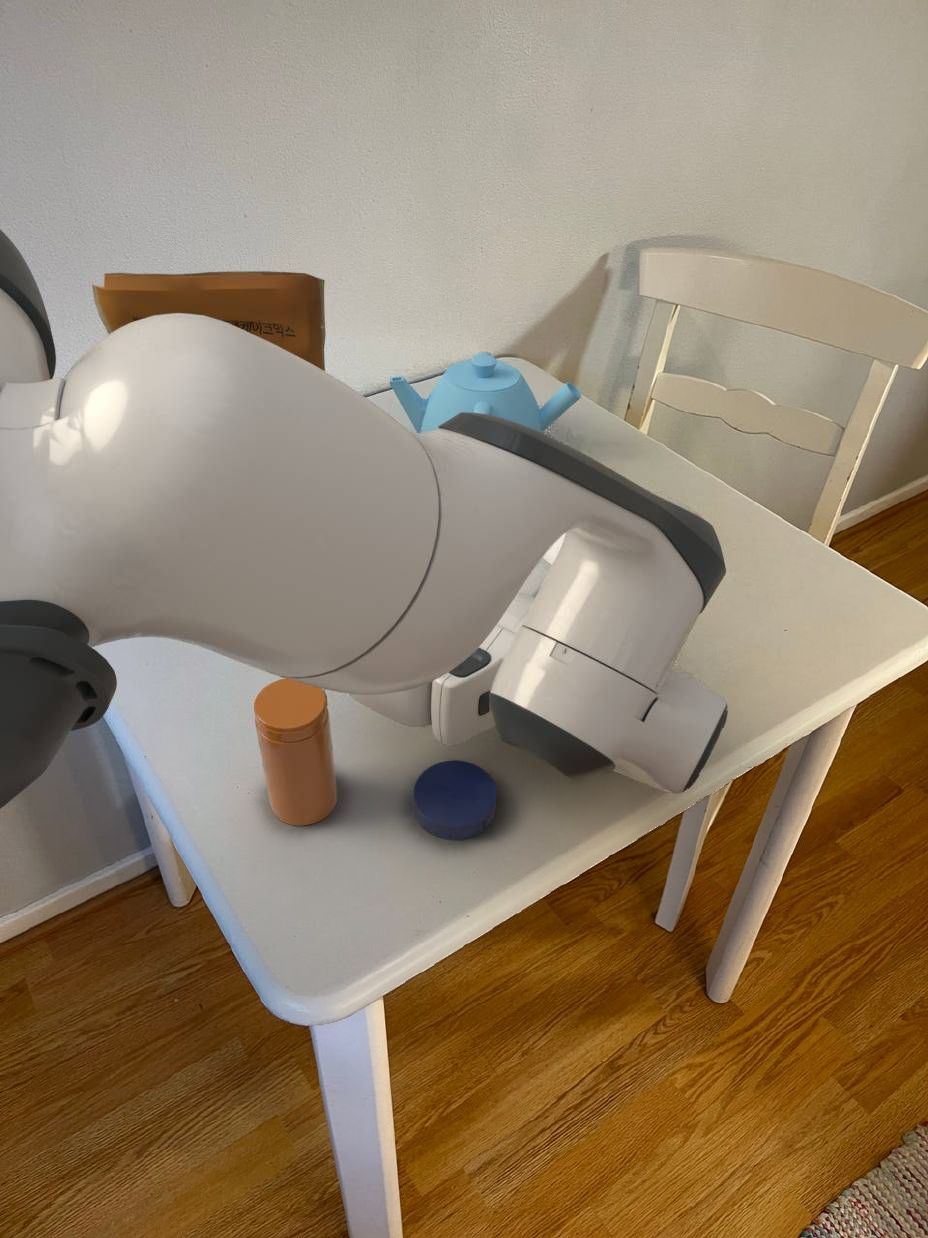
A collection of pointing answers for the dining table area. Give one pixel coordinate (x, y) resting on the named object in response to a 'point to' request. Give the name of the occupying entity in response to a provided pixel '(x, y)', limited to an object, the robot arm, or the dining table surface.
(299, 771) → the jar
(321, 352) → the pancake mix bag
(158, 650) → the dining table surface
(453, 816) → the jar lid
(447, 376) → the teapot
